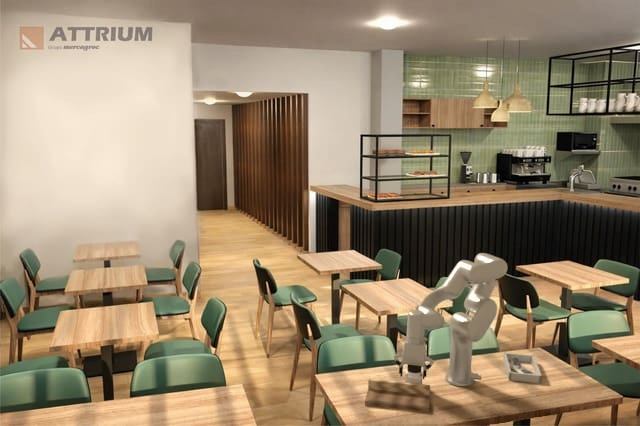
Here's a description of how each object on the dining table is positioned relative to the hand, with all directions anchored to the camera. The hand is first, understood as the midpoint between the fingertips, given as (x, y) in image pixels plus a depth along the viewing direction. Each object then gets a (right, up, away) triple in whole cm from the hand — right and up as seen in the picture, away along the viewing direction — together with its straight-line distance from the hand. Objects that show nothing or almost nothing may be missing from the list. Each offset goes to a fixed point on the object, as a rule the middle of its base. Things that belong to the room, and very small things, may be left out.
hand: (412, 376), depth 242 cm
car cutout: (+55, -3, +20) cm, 59 cm away
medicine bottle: (+1, -6, +1) cm, 6 cm away
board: (-8, -8, -10) cm, 15 cm away
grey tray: (+55, -3, +20) cm, 59 cm away
